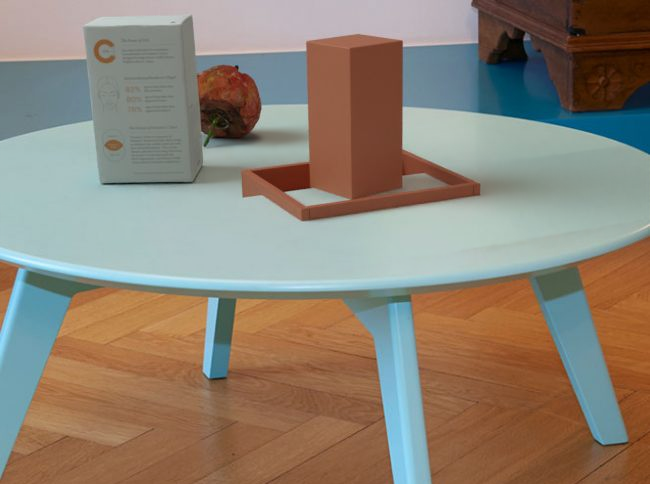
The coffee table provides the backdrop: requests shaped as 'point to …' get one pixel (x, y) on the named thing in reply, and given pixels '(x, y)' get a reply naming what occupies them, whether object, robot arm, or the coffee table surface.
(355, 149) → the terracotta block
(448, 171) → the terracotta frame
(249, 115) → the red round fruit
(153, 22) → the small box
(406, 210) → the coffee table surface
